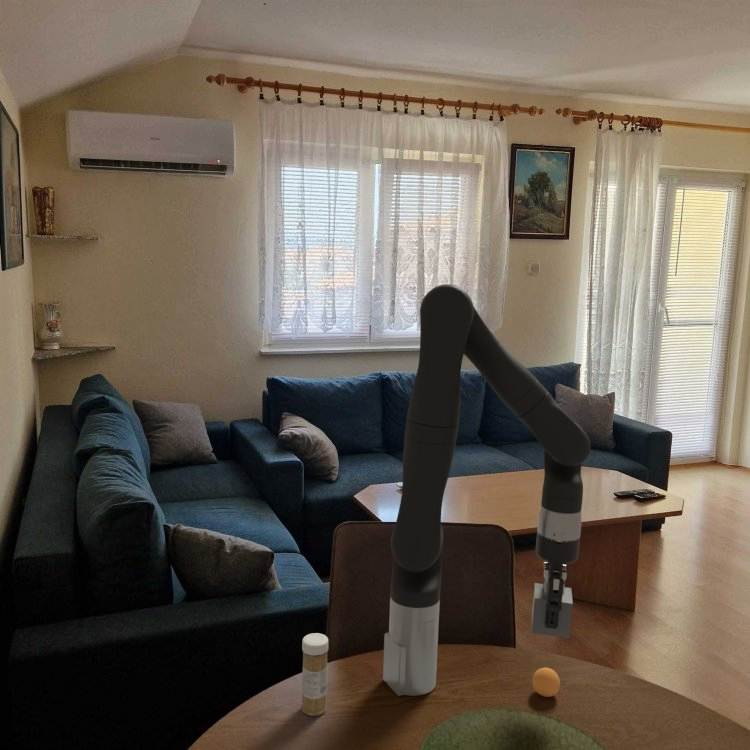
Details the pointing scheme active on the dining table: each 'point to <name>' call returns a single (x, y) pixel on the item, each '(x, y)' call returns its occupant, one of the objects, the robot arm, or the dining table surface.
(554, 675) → the ball
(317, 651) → the sprinkles bottle
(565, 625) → the matte gray cube
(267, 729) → the dining table surface
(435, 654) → the robot arm
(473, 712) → the dining table surface
